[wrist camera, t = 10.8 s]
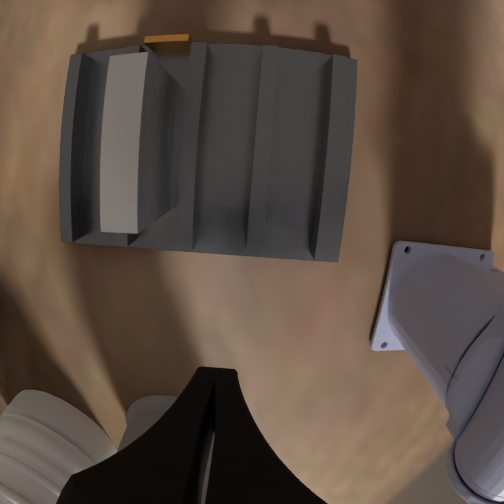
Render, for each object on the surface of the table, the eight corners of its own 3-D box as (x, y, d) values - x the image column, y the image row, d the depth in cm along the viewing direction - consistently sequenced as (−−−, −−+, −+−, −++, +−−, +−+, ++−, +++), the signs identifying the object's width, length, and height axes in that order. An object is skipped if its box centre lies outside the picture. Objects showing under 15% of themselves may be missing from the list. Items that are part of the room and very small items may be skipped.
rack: (351, 64, 16) (365, 52, 14) (333, 257, 19) (344, 271, 17) (77, 59, 15) (58, 50, 13) (69, 238, 19) (49, 248, 16)
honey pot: (7, 368, 22) (-89, 489, 5) (122, 425, 24) (62, 595, 6) (22, 439, 26) (-35, 539, 8) (115, 483, 27) (79, 603, 10)
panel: (180, 84, 15) (148, 51, 10) (172, 208, 17) (137, 233, 12) (152, 85, 15) (109, 56, 10) (145, 207, 17) (100, 231, 12)
